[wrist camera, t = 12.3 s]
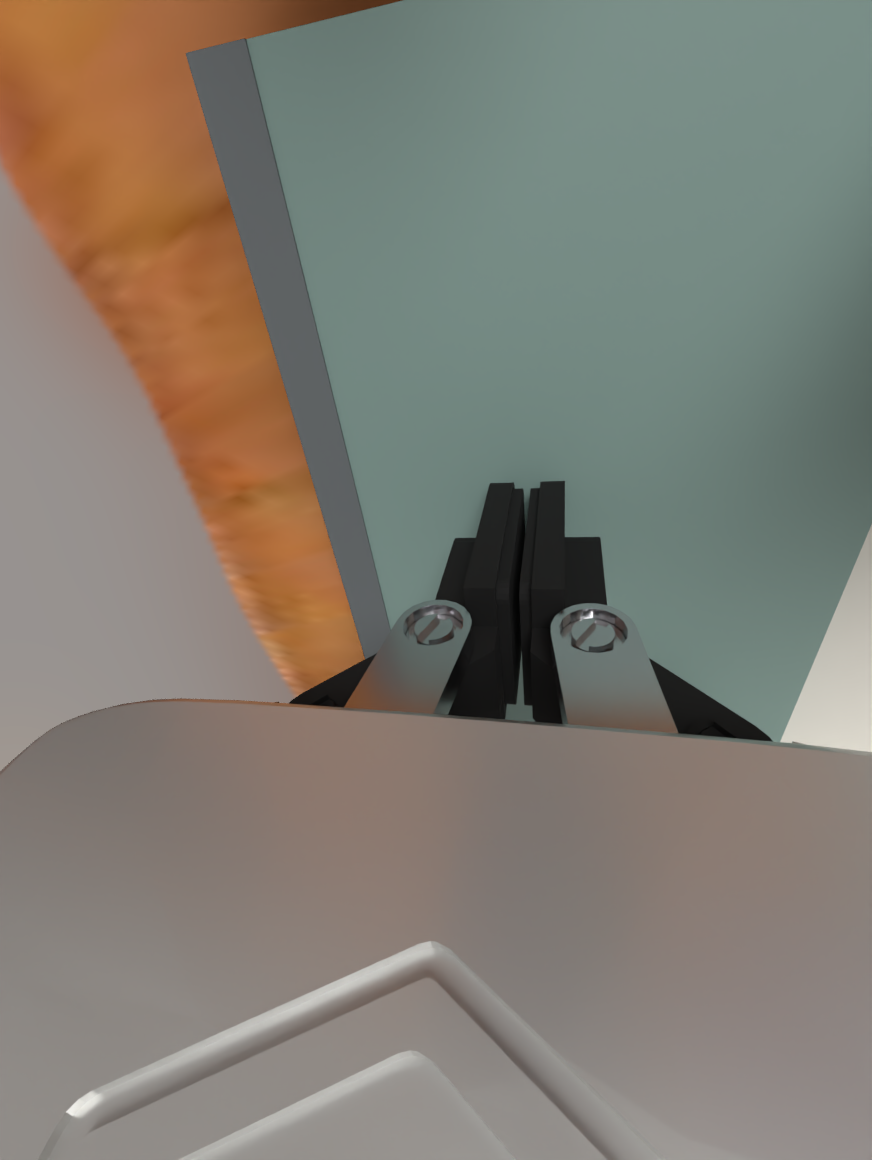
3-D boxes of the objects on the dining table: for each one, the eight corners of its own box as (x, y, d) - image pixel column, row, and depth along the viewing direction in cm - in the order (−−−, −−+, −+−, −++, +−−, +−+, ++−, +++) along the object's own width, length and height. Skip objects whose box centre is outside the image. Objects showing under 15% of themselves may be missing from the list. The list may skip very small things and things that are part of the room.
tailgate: (1177, -194, 5) (186, 53, 8) (767, 774, 16) (393, 754, 18) (1076, -133, 7) (226, 69, 9) (753, 738, 17) (400, 724, 19)
